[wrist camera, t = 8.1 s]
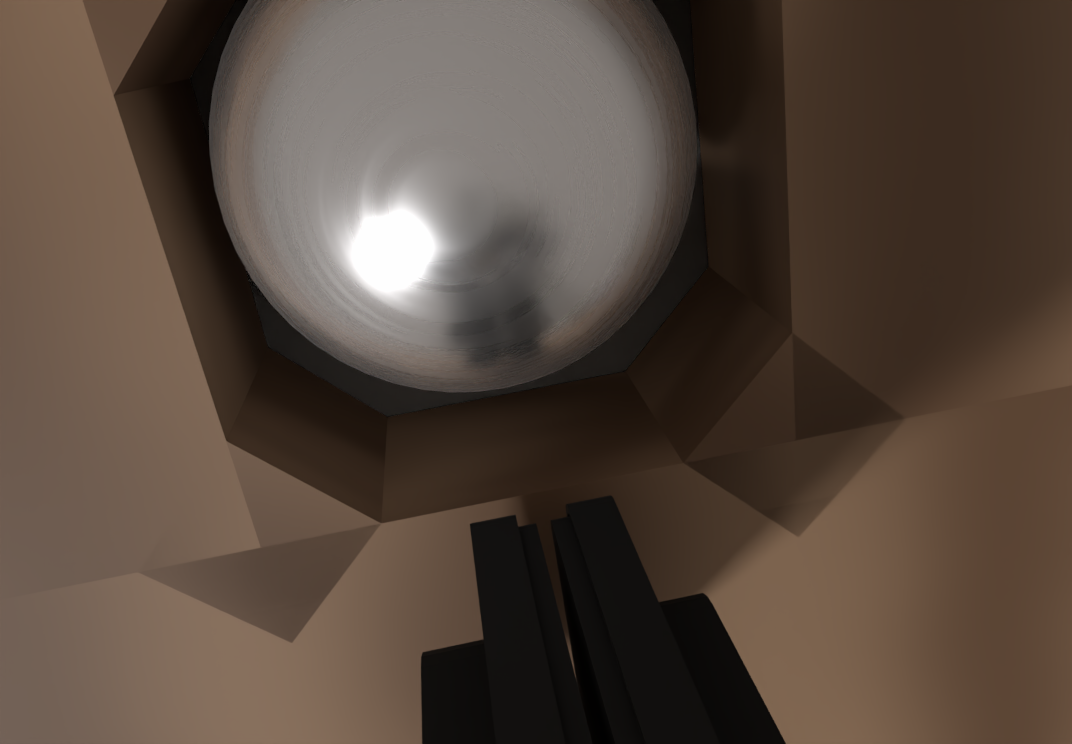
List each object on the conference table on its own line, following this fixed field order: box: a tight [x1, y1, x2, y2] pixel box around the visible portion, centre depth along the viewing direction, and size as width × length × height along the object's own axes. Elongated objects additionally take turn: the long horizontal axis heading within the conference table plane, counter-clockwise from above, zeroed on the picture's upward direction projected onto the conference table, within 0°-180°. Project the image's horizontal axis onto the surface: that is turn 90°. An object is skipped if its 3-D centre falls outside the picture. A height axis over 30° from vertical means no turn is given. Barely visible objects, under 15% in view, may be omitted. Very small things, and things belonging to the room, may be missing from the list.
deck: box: [0, 0, 1072, 744], centre depth 13 cm, size 15×24×3 cm, turn 8°
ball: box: [209, 0, 697, 392], centre depth 9 cm, size 5×5×5 cm
